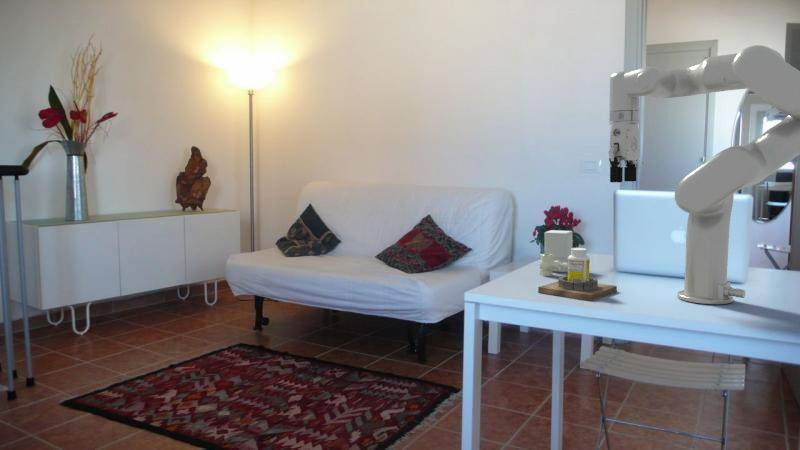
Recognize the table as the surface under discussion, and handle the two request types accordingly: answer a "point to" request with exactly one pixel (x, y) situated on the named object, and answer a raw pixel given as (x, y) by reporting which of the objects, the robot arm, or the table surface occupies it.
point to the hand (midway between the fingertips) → (623, 181)
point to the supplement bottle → (578, 265)
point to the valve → (549, 265)
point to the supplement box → (558, 246)
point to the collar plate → (576, 292)
